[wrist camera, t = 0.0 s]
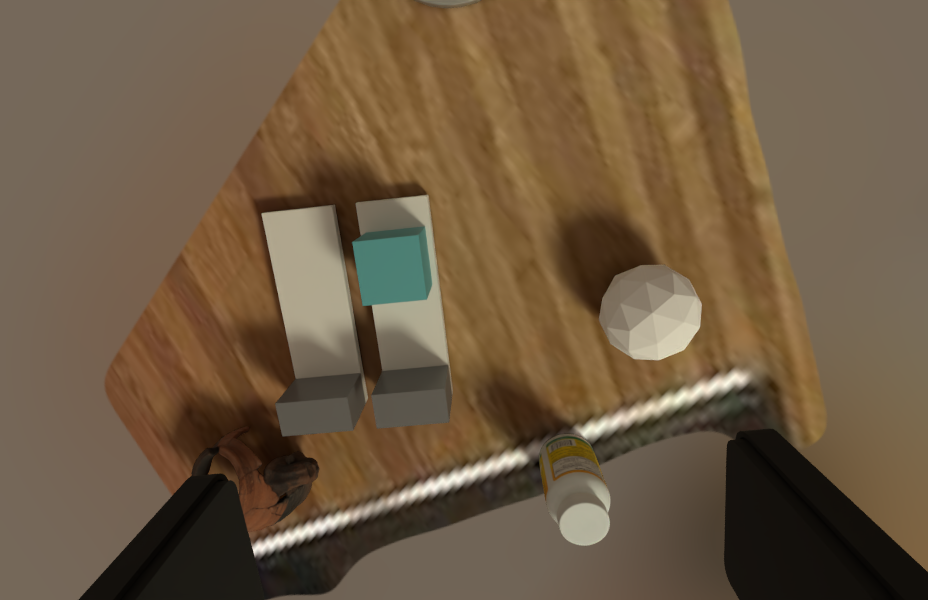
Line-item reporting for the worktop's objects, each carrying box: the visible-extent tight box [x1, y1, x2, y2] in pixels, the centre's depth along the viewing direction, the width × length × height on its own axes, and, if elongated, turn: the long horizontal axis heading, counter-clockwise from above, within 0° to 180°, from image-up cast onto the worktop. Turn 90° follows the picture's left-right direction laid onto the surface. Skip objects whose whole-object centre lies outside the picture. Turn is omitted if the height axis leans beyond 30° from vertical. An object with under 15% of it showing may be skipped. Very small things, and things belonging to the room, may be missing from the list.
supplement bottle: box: [539, 434, 610, 545], centre depth 46 cm, size 5×5×10 cm
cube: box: [352, 226, 432, 306], centre depth 43 cm, size 5×5×5 cm
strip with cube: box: [355, 195, 453, 428], centre depth 44 cm, size 18×6×6 cm, turn 6°
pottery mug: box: [192, 427, 319, 532], centre depth 49 cm, size 12×10×8 cm
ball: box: [599, 265, 702, 360], centre depth 43 cm, size 8×8×8 cm
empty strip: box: [261, 205, 368, 436], centre depth 44 cm, size 18×6×6 cm, turn 6°
